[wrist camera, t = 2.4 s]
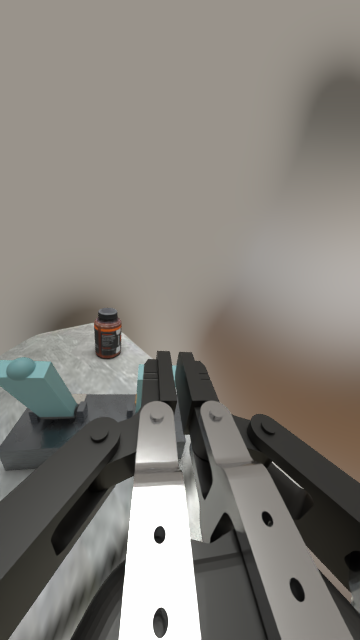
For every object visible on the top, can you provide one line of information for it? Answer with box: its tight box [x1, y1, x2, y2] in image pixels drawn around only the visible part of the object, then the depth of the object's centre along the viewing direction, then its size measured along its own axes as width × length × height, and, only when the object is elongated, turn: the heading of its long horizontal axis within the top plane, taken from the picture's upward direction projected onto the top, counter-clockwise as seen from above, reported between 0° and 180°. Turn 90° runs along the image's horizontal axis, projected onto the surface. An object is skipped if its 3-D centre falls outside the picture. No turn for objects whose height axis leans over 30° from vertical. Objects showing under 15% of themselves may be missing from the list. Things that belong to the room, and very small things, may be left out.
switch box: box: [0, 394, 186, 470], centre depth 27 cm, size 22×8×6 cm, turn 98°
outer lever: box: [135, 364, 176, 414], centre depth 23 cm, size 4×2×14 cm, turn 98°
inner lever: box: [0, 357, 79, 419], centre depth 20 cm, size 4×2×14 cm, turn 98°
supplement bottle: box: [94, 308, 121, 358], centre depth 44 cm, size 6×6×11 cm
